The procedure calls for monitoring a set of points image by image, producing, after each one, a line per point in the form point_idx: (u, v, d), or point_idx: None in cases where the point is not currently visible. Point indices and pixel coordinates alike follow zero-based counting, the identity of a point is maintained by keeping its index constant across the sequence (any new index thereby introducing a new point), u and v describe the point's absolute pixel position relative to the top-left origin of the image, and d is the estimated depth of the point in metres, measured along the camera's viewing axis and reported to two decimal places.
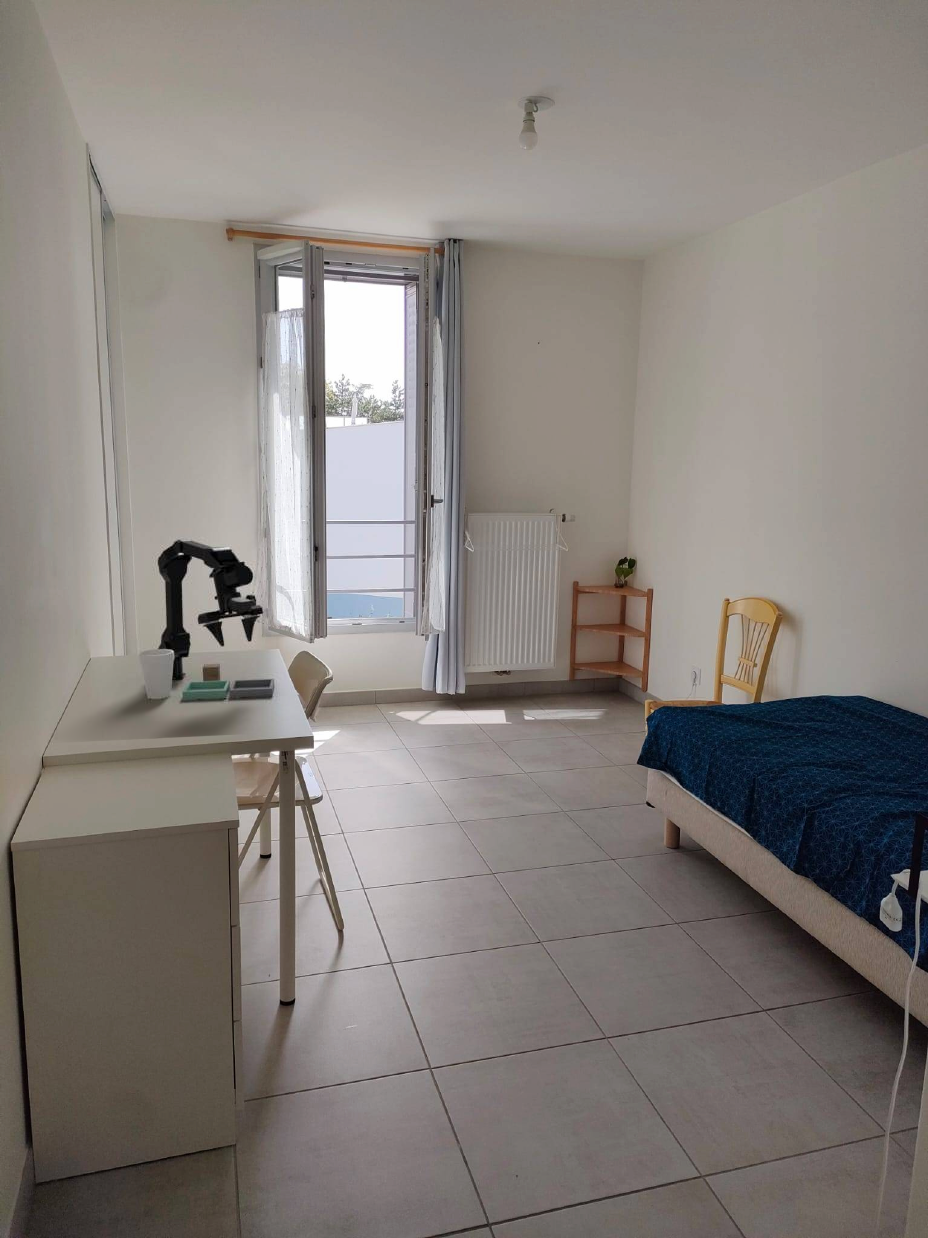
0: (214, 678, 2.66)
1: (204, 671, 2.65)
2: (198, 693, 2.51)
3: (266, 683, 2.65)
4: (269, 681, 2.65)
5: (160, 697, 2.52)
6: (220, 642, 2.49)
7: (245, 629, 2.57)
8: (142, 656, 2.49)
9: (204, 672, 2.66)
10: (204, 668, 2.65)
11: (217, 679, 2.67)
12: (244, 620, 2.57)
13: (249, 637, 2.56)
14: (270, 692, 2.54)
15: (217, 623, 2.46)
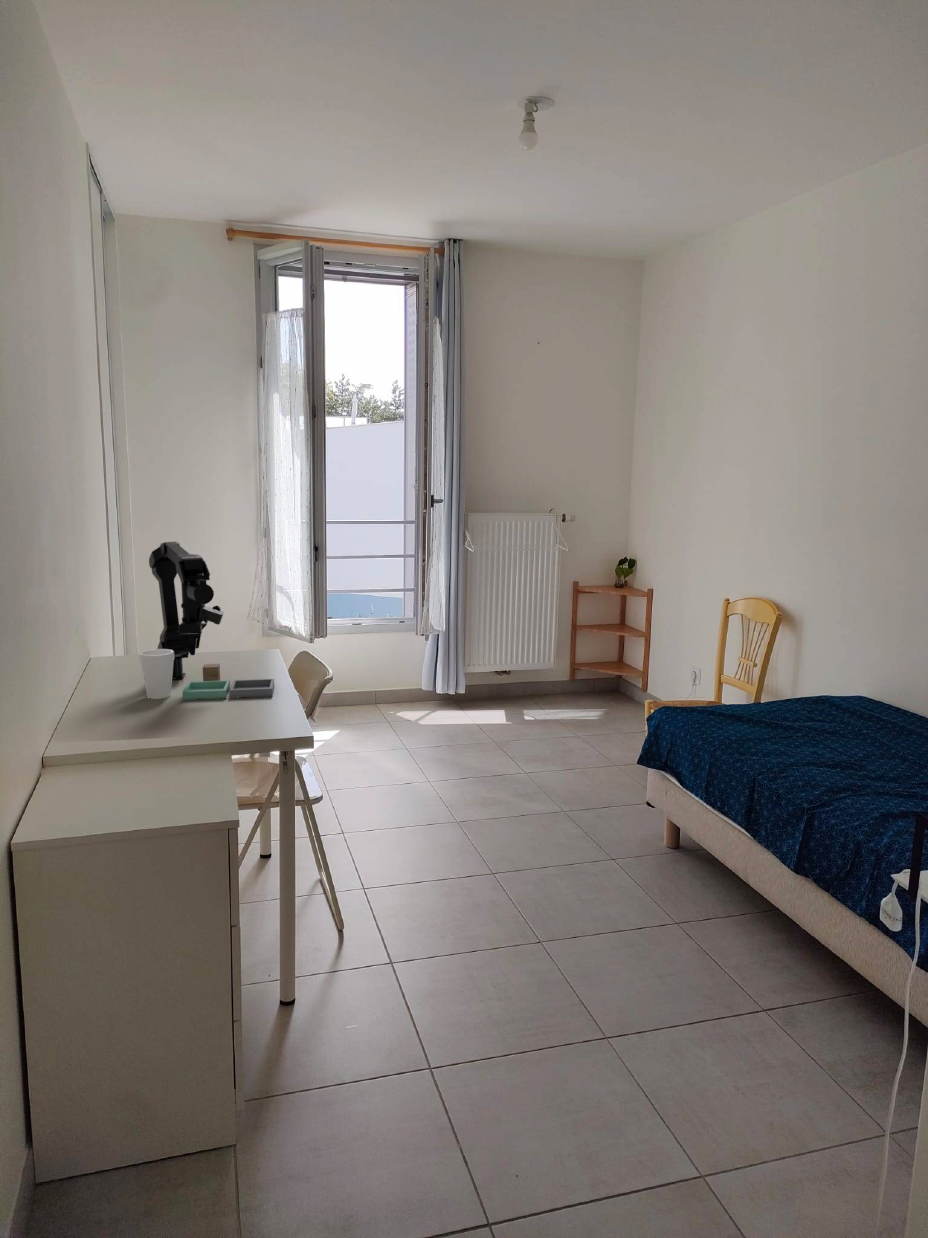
0: (214, 678, 2.66)
1: (204, 671, 2.65)
2: (198, 693, 2.51)
3: (266, 683, 2.65)
4: (269, 681, 2.65)
5: (160, 697, 2.52)
6: (192, 651, 2.53)
7: None
8: (142, 656, 2.49)
9: (204, 672, 2.66)
10: (204, 668, 2.65)
11: (217, 679, 2.67)
12: None
13: (198, 644, 2.62)
14: (270, 692, 2.54)
15: (200, 634, 2.51)
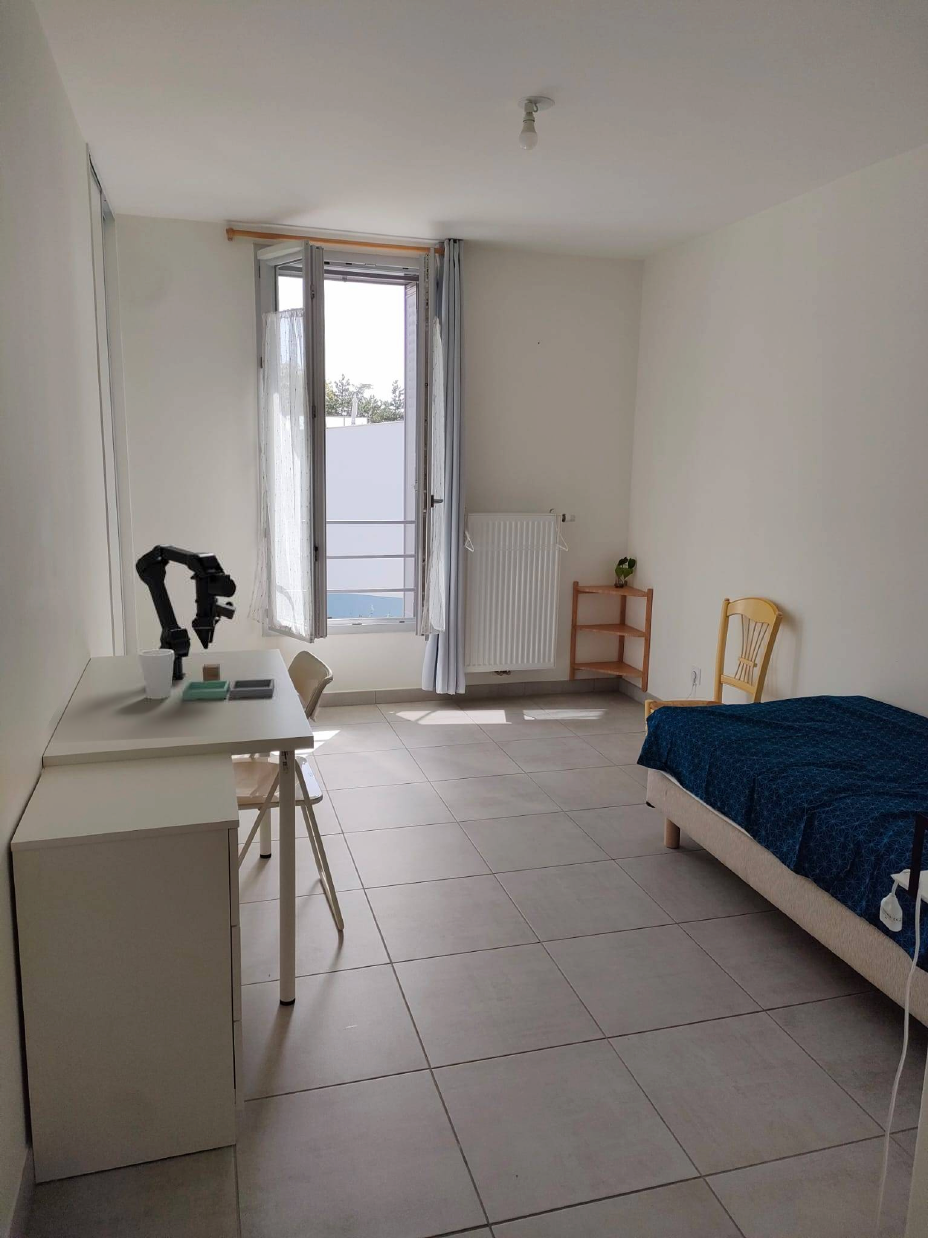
0: (214, 678, 2.66)
1: (204, 671, 2.65)
2: (198, 693, 2.51)
3: (266, 683, 2.65)
4: (269, 681, 2.65)
5: (160, 697, 2.52)
6: (205, 645, 2.61)
7: None
8: (142, 656, 2.49)
9: (204, 672, 2.66)
10: (204, 668, 2.65)
11: (217, 679, 2.67)
12: None
13: (211, 639, 2.70)
14: (270, 692, 2.54)
15: (213, 628, 2.59)
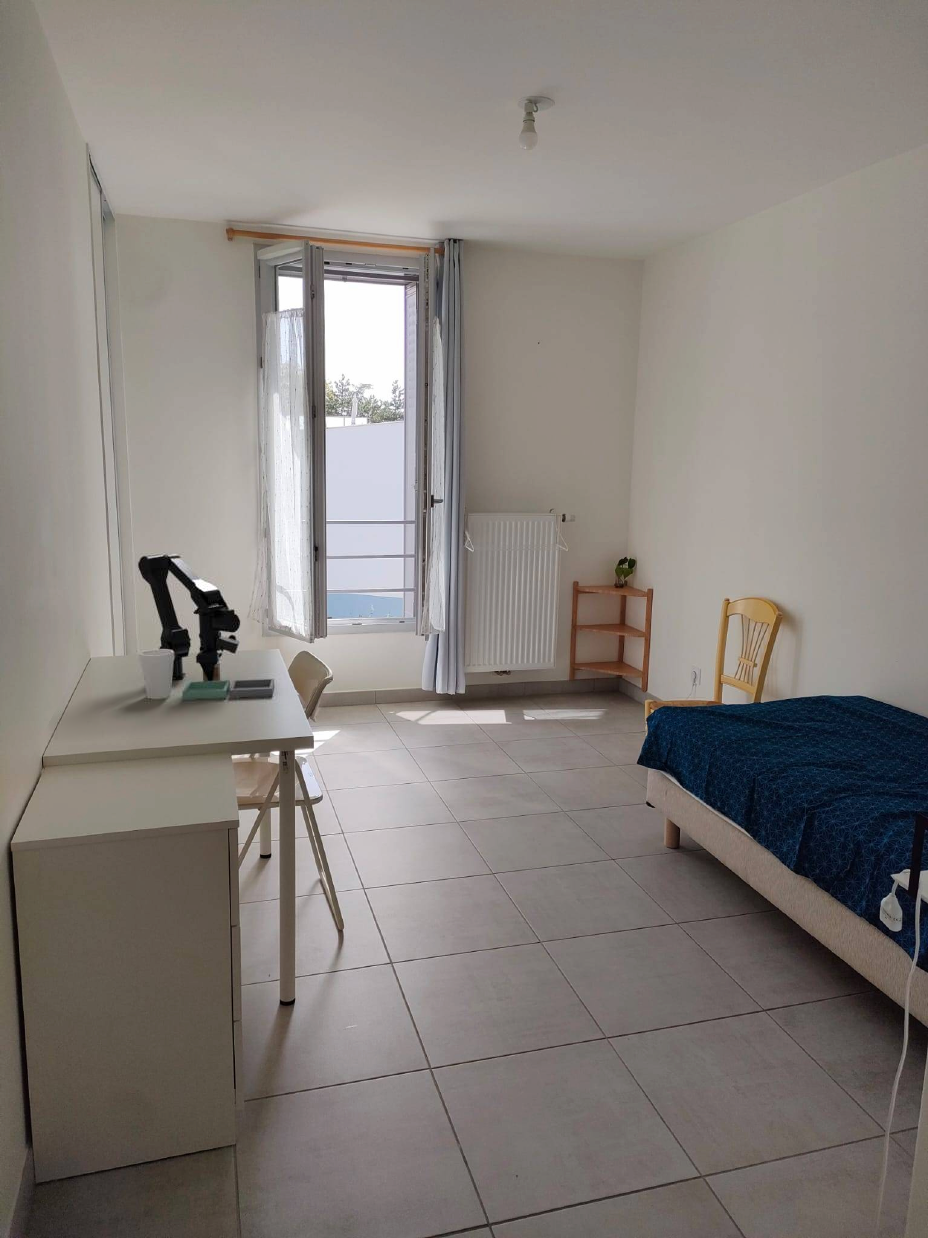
0: (214, 677, 2.66)
1: None
2: (198, 693, 2.51)
3: (266, 683, 2.65)
4: (269, 681, 2.65)
5: (160, 697, 2.52)
6: (210, 678, 2.65)
7: None
8: (142, 656, 2.49)
9: None
10: None
11: (217, 679, 2.67)
12: None
13: None
14: (270, 692, 2.54)
15: (218, 661, 2.63)
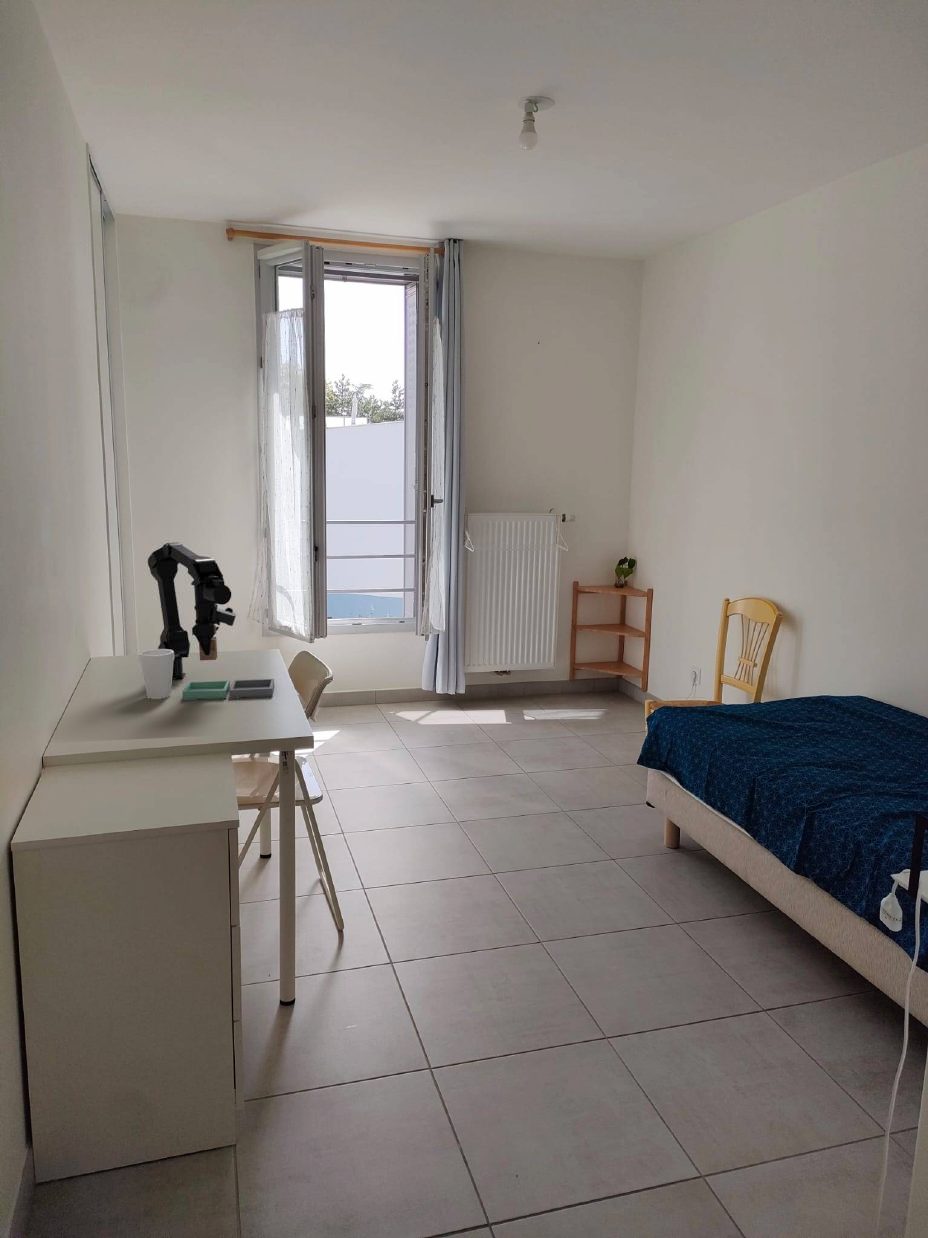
0: (211, 651, 2.57)
1: None
2: (198, 693, 2.51)
3: (266, 683, 2.65)
4: (269, 681, 2.65)
5: (160, 697, 2.52)
6: (207, 651, 2.56)
7: None
8: (142, 656, 2.49)
9: None
10: None
11: (214, 652, 2.58)
12: None
13: None
14: (270, 692, 2.54)
15: None
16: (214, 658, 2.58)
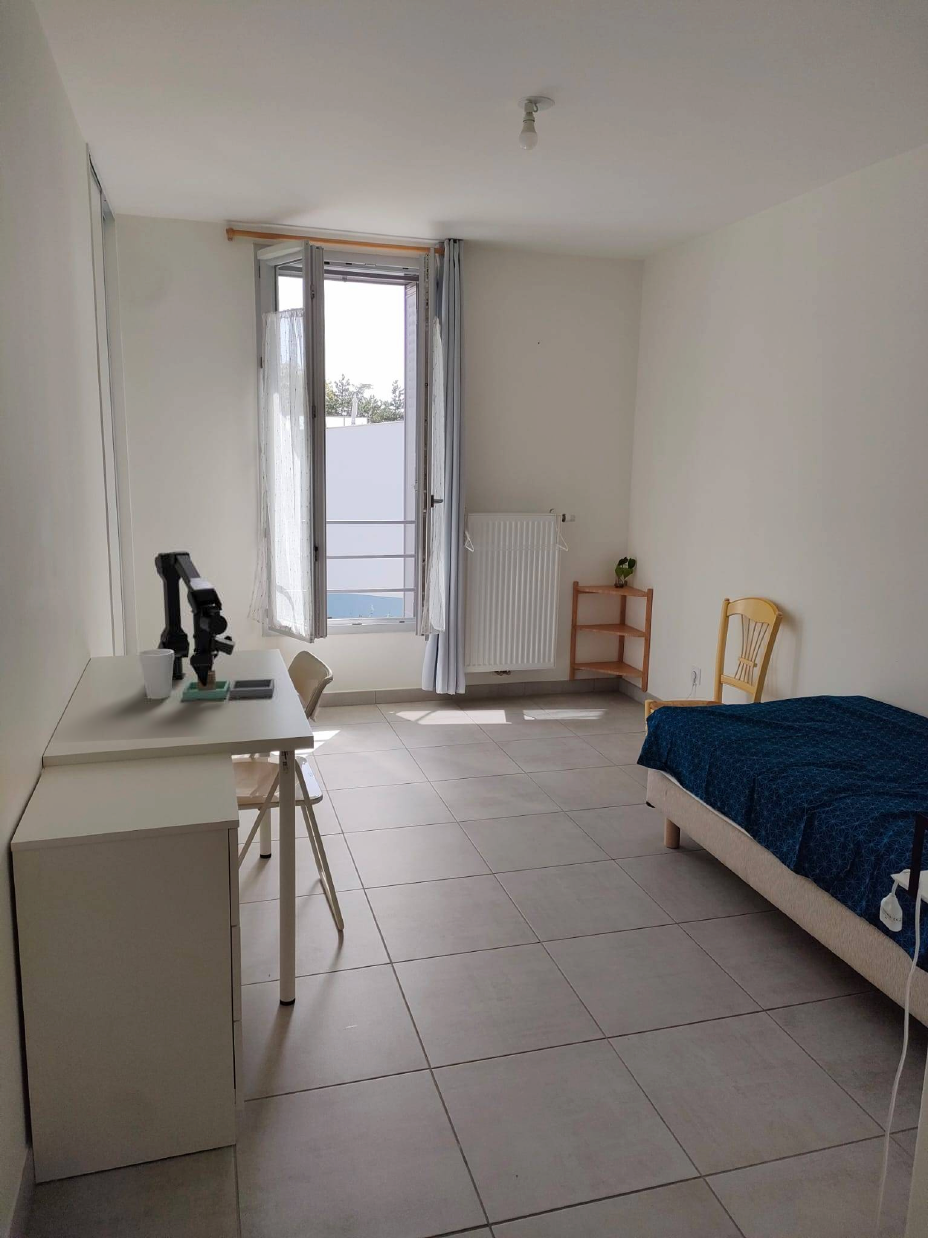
0: (209, 685, 2.55)
1: None
2: (198, 693, 2.51)
3: (266, 683, 2.65)
4: (269, 681, 2.65)
5: (160, 697, 2.52)
6: (204, 682, 2.51)
7: None
8: (142, 656, 2.49)
9: None
10: None
11: (212, 686, 2.55)
12: None
13: None
14: (270, 692, 2.54)
15: (212, 665, 2.49)
16: None
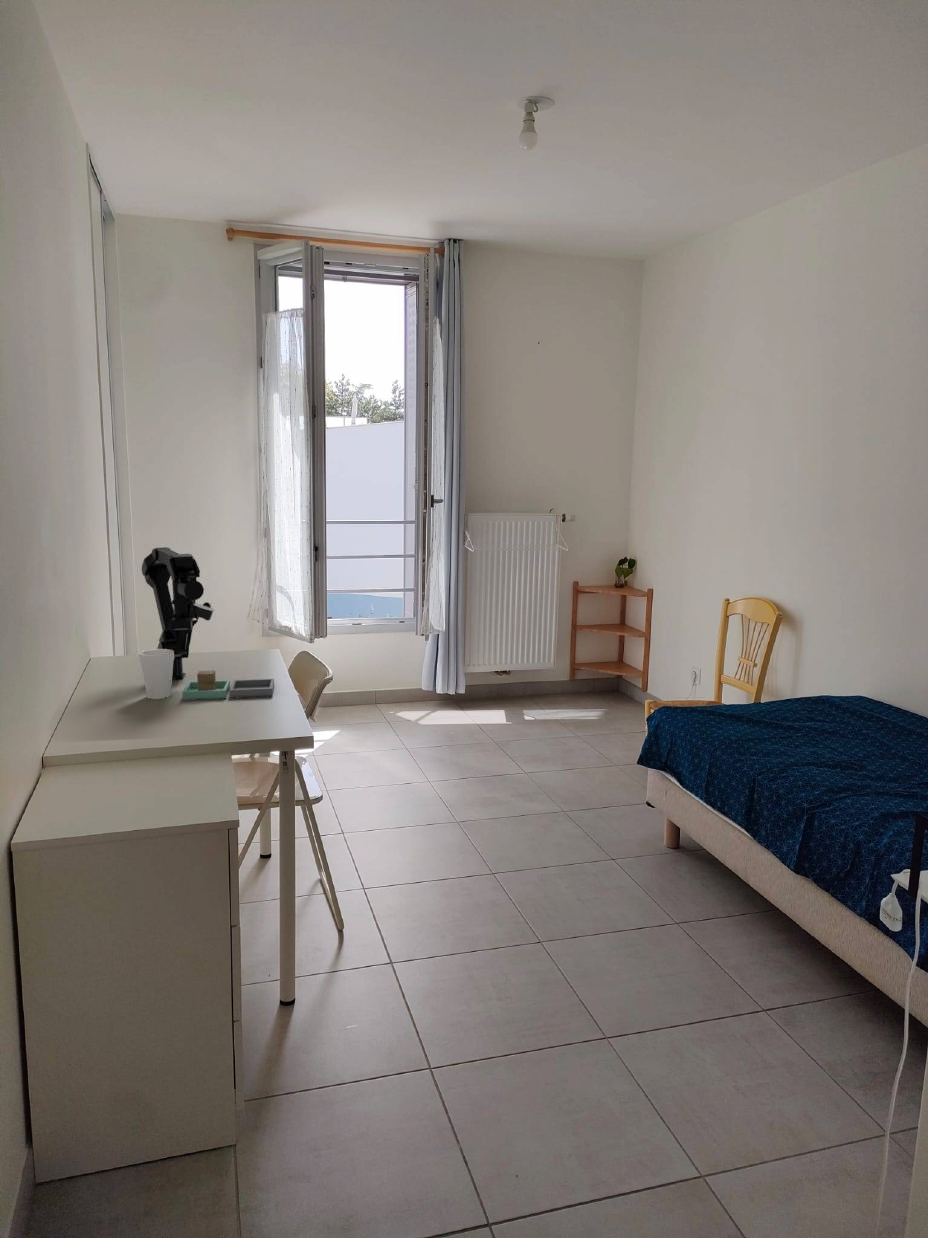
0: (209, 685, 2.55)
1: (199, 678, 2.54)
2: (198, 693, 2.51)
3: (266, 683, 2.65)
4: (269, 681, 2.65)
5: (160, 697, 2.52)
6: (183, 646, 2.59)
7: None
8: (142, 656, 2.49)
9: (199, 679, 2.54)
10: (199, 675, 2.54)
11: (212, 686, 2.55)
12: None
13: (189, 640, 2.69)
14: (270, 692, 2.54)
15: (190, 629, 2.57)
16: None
